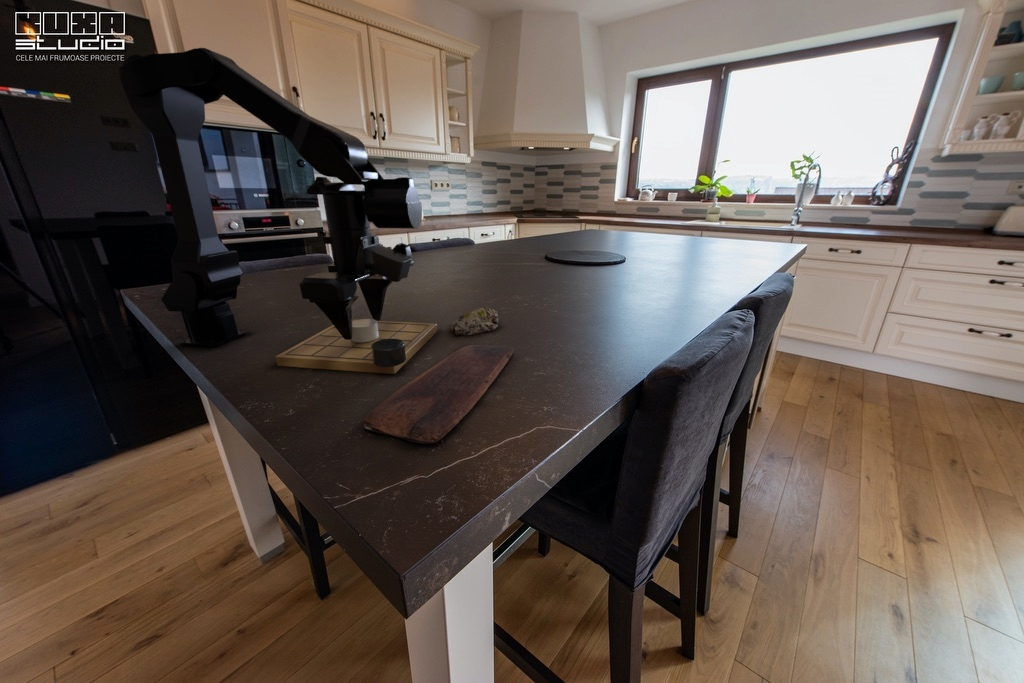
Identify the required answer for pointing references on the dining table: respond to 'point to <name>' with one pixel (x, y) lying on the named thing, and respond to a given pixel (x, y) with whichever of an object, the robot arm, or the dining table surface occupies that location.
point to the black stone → (388, 352)
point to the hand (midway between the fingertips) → (363, 329)
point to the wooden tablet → (439, 395)
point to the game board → (355, 348)
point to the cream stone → (364, 330)
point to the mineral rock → (476, 322)
